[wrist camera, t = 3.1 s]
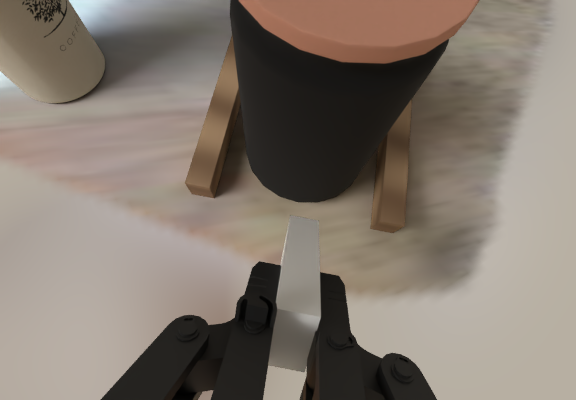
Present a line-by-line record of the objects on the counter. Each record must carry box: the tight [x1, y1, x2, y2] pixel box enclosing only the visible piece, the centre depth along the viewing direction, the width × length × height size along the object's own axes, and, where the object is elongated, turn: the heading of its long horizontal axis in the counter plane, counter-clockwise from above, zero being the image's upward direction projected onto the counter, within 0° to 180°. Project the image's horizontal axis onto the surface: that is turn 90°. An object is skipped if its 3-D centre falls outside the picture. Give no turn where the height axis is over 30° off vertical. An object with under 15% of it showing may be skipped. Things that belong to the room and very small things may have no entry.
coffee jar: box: [230, 0, 479, 202], centre depth 21 cm, size 11×11×18 cm
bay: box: [185, 36, 412, 233], centre depth 30 cm, size 28×18×3 cm, turn 170°
